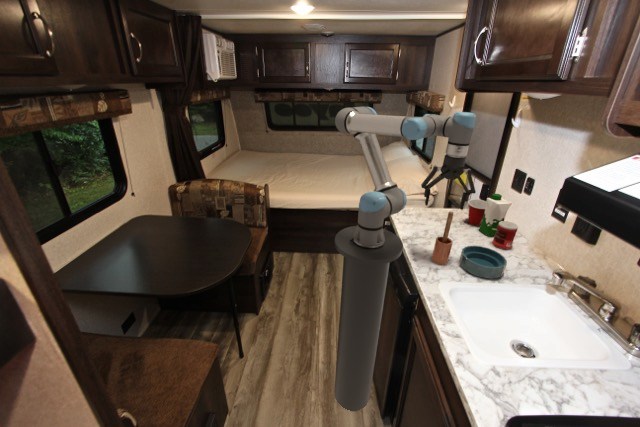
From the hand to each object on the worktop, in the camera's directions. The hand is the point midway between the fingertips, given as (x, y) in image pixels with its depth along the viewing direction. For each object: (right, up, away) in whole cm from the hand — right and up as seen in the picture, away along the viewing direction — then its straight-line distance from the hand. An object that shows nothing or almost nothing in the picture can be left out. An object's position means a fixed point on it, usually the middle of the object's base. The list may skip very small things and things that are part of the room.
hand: (443, 206), depth 120 cm
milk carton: (+36, -13, +29) cm, 48 cm away
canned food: (+35, -18, +18) cm, 44 cm away
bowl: (+16, -25, +2) cm, 30 cm away
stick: (+1, -22, +5) cm, 23 cm away
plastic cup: (+33, -8, +39) cm, 52 cm away
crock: (+1, -23, +5) cm, 24 cm away
